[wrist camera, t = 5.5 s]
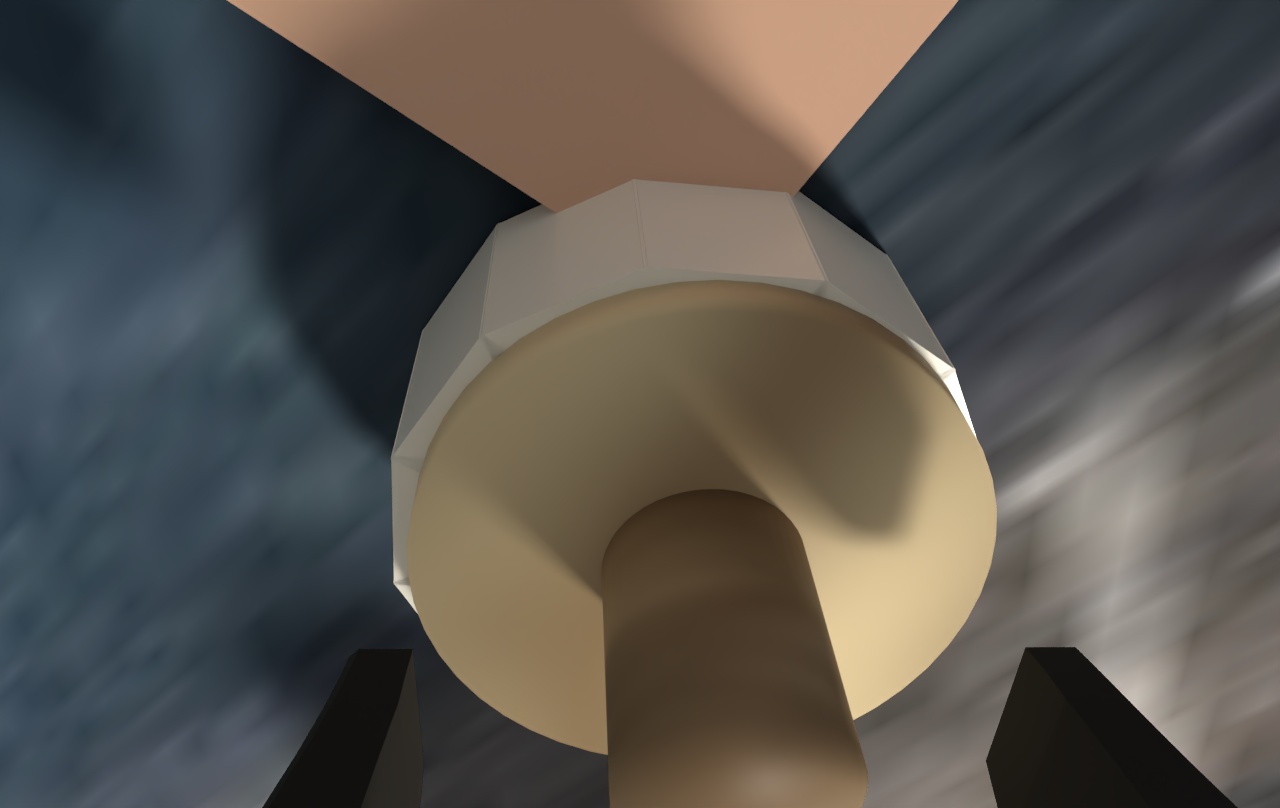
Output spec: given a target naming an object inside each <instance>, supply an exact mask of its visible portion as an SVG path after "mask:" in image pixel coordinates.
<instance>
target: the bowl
mask: <svg viewBox="0 0 1280 808" xmlns="http://www.w3.org/2000/svg"><path fill="white" fill-rule="evenodd" d="M706 280H729V281H745V282H760V283H766V284H771V285H776V286H781V287H787V288H792V289H797V290H802V291H805V292H808V293H811V294H814V295H817V296H820V297H823V298H826V299H830V300H833V301H836V302H839V303H841V304H843V305H845V306H847V307H849V308H851V309H853V310H855V311H857V312H859V313H862V314H864V315H866V316H868V317H870V318H872V319H874V320H875V321H877V322H878V323H880V324H881V325H883V326H884V327H886V328H887V329H889V330H890V331H891V332H893V333H894V334H896V335H897V336H899V337H900V338H902V339H903V340H904V341H905V342H906V343H908V344H909V345H910V346H911V347H912V348H913V349H914V350H915V351H916V352H917V353H918V354H920V355H921V356H922V357H923V358H924V359H925V360H926V361H927V362H928V363H929V364H930V365H931V367H932V368H933V369H934V370H935V372H936V373H937V374H938V376H939V377H940V378H941V379H942V381H943V382H944V383H945V384H946V386H947V387H948V388H949V390H950V392H951V394H952V395H953V397H954V399H955V401H956V403H957V404H958V406H959V408H960V410H961V411H962V413H963V415H964V417H965V418H966V420H967V422H968V424H969V426H970V428H971V429H972V431H973V433H974V435H975V432H974V429H973V426H972V423H971V420H970V417H969V413H968V410H967V407H966V404H965V401H964V398H963V395H962V391H961V388H960V385H959V382H958V379H957V376H956V373H955V368H954V366H953V365H952V363H951V361H950V360H949V358H948V356H947V355H946V353H945V351H944V349H943V348H942V346H941V344H940V343H939V341H938V339H937V338H936V336H935V334H934V333H933V331H932V329H931V327H930V326H929V324H928V322H927V321H926V319H925V317H924V316H923V314H922V312H921V311H920V309H919V307H918V306H917V304H916V302H915V300H914V299H913V297H912V295H911V294H910V292H909V290H908V289H907V287H906V285H905V284H904V282H903V280H902V278H901V277H900V275H899V273H898V272H897V270H896V268H895V267H894V265H893V263H892V262H891V260H890V258H889V256H888V255H887V254H885V253H883V252H882V251H880V250H879V249H878V248H876V247H875V246H874V245H872V244H871V243H869V242H868V241H867V240H865V239H864V238H863V237H861V236H860V235H858V234H857V233H856V232H854V231H853V230H852V229H850V228H849V227H847V226H846V225H845V224H843V223H842V222H841V221H839V220H838V219H836V218H835V217H834V216H832V215H831V214H830V213H828V212H827V211H825V210H824V209H823V208H821V207H820V206H819V205H817V204H816V203H814V202H813V201H812V200H810V199H809V198H808V197H806V196H805V195H803V194H802V193H801V192H799V191H798V192H797V193H796V194H795V196H794V197H793V196H791V195H790V194H789V193H788V192H786V191H785V192H777V191H765V190H753V189H742V188H730V187H719V186H707V185H696V184H684V183H672V182H661V181H649V180H638V179H632V180H631V181H629V182H626V183H624V184H622V185H620V186H617V187H615V188H613V189H611V190H608V191H606V192H604V193H601V194H599V195H597V196H595V197H592V198H590V199H588V200H586V201H583V202H581V203H579V204H576V205H574V206H572V207H570V208H567V209H565V210H563V211H561V212H558V213H555V212H554V211H552V210H551V209H549V208H547V207H546V206H544V205H543V204H542V205H539V206H537V207H535V208H533V209H530V210H528V211H526V212H524V213H521V214H519V215H517V216H515V217H512V218H510V219H508V220H506V221H503V222H501V223H498V224H496V227H495V228H494V230H493V231H492V232H491V234H490V235H489V237H488V238H487V240H486V241H485V242H484V244H483V245H482V247H481V248H480V250H479V251H478V252H477V254H476V255H475V257H474V258H473V260H472V261H471V262H470V264H469V265H468V267H467V268H466V270H465V271H464V272H463V274H462V275H461V277H460V278H459V279H458V281H457V282H456V284H455V285H454V287H453V288H452V289H451V291H450V292H449V294H448V295H447V297H446V298H445V299H444V301H443V302H442V304H441V305H440V307H439V308H438V309H437V311H436V312H435V314H434V315H433V317H432V318H431V319H430V321H429V322H428V324H427V325H426V327H425V328H424V329H423V330H422V333H421V337H420V341H419V345H418V350H417V354H416V358H415V362H414V366H413V370H412V374H411V378H410V382H409V386H408V390H407V394H406V398H405V402H404V406H403V410H402V414H401V418H400V422H399V426H398V430H397V434H396V438H395V442H394V447H393V451H392V455H391V465H392V512H393V560H394V580H393V583H394V585H396V587H397V588H398V589H399V590H400V592H401V593H402V594H403V596H404V597H405V598H406V599H407V601H408V602H409V603H410V604H411V606H412V607H413V608H414V610H415V611H416V612H417V610H416V607H415V605H414V602H413V597H412V592H411V587H410V582H409V577H408V562H407V541H408V534H409V527H410V520H411V513H412V508H413V504H414V499H415V494H416V489H417V484H418V479H419V475H420V472H421V469H422V466H423V463H424V460H425V456H426V453H427V450H428V447H429V445H430V443H431V441H432V439H433V437H434V435H435V433H436V431H437V429H438V427H439V425H440V424H441V422H442V420H443V418H444V416H445V415H446V413H447V412H448V411H449V409H450V408H451V406H452V405H453V404H454V402H455V401H456V400H457V398H458V397H459V395H460V394H461V393H462V391H463V390H464V389H465V388H466V386H467V385H468V384H469V383H470V382H471V381H472V380H473V379H474V378H475V377H476V376H477V375H478V374H479V373H480V372H481V371H482V370H483V369H484V368H485V367H486V366H487V365H488V364H489V363H490V362H491V361H492V360H494V359H495V358H496V357H497V356H499V355H500V354H501V353H503V352H504V351H505V350H506V349H508V348H509V347H510V346H512V345H513V344H514V343H515V342H517V341H518V340H519V339H521V338H522V337H524V336H526V335H527V334H529V333H531V332H532V331H534V330H536V329H537V328H539V327H541V326H542V325H544V324H546V323H548V322H549V321H551V320H553V319H554V318H556V317H559V316H561V315H563V314H566V313H568V312H570V311H573V310H575V309H577V308H579V307H582V306H584V305H586V304H589V303H591V302H593V301H597V300H600V299H603V298H607V297H610V296H613V295H617V294H620V293H623V292H627V291H630V290H634V289H639V288H645V287H651V286H656V285H662V284H668V283H674V282H688V281H706ZM975 437H976V435H975ZM417 613H418V612H417Z"/></svg>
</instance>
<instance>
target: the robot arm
mask: <svg viewBox="0 0 1280 808" xmlns="http://www.w3.org/2000/svg"><path fill="white" fill-rule="evenodd" d="M986 763H987V767H988V771H989V775H990V779H991V783H992V787H993V791H994V795H995V799H996V803H997V807H998V808H1237V807H1236V806H1235V805H1234V804H1233V803H1232V802H1231V801H1230V800H1229V799H1228V798H1227V797H1226V796H1225V795H1224V794H1223V793H1222V792H1220V791H1219V790H1218V789H1217V788H1216V787H1215V786H1214V785H1213V784H1212V783H1211V782H1210V781H1209V780H1208V779H1207V778H1206V777H1205V776H1204V775H1203V774H1202V773H1201V772H1200V771H1199V770H1198V769H1197V768H1196V767H1195V766H1194V765H1192V764H1191V763H1190V762H1189V761H1188V760H1187V759H1186V758H1185V757H1184V756H1183V755H1182V754H1181V753H1180V752H1179V751H1178V750H1177V749H1176V748H1175V747H1174V746H1173V745H1172V744H1171V743H1170V742H1169V741H1168V740H1167V739H1166V738H1165V737H1164V736H1163V735H1162V734H1161V733H1160V732H1159V731H1158V730H1157V729H1156V728H1155V727H1154V726H1153V725H1152V724H1151V723H1150V722H1149V721H1148V720H1147V719H1146V718H1145V717H1144V716H1143V715H1142V714H1141V713H1140V712H1139V711H1138V710H1137V709H1136V708H1135V707H1134V706H1133V705H1132V704H1131V703H1130V701H1129V700H1128V699H1127V698H1126V697H1125V696H1124V695H1123V694H1122V693H1121V692H1120V691H1119V690H1118V689H1117V688H1116V687H1115V686H1114V685H1113V684H1112V683H1111V682H1110V681H1109V680H1108V679H1107V678H1106V677H1105V676H1104V675H1103V674H1102V673H1101V672H1100V671H1099V670H1098V669H1097V668H1096V667H1095V666H1094V665H1093V664H1092V663H1091V662H1090V661H1089V660H1088V659H1087V658H1086V657H1085V656H1084V655H1083V654H1082V653H1081V652H1080V651H1079V650H1078V649H1076V648H1075V647H1026V648H1025V651H1024V653H1023V656H1022V659H1021V662H1020V665H1019V668H1018V671H1017V673H1016V676H1015V679H1014V682H1013V685H1012V688H1011V691H1010V693H1009V696H1008V699H1007V702H1006V705H1005V708H1004V711H1003V714H1002V716H1001V719H1000V722H999V725H998V728H997V731H996V734H995V736H994V739H993V742H992V745H991V748H990V751H989V754H988V756H987V759H986ZM423 772H424V761H423V750H422V740H421V729H420V718H419V708H418V697H417V686H416V676H415V665H414V654H413V649H359V650H357V651H356V652H355V653H354V654H352V655H351V656H350V657H349V659H348V661H347V663H346V666H345V668H344V670H343V672H342V674H341V676H340V678H339V680H338V682H337V684H336V685H335V687H334V689H333V691H332V693H331V695H330V697H329V699H328V701H327V702H326V704H325V706H324V708H323V710H322V711H321V713H320V715H319V717H318V719H317V720H316V722H315V724H314V725H313V727H312V729H311V731H310V732H309V734H308V736H307V737H306V739H305V741H304V742H303V744H302V746H301V747H300V749H299V751H298V753H297V754H296V756H295V757H294V759H293V760H292V762H291V764H290V765H289V767H288V768H287V770H286V771H285V773H284V775H283V776H282V778H281V779H280V781H279V782H278V784H277V785H276V787H275V789H274V790H273V792H272V793H271V795H270V796H269V798H268V800H267V801H266V803H265V804H264V806H263V807H262V808H420V802H421V792H422V782H423Z"/></svg>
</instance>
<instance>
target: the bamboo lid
mask: <svg viewBox="0 0 1280 808" xmlns="http://www.w3.org/2000/svg"><path fill="white" fill-rule="evenodd" d="M996 519H997V506H996V500H995V493H994V486H993V479H992V476H991V473H990V470H989V467H988V464H987V461H986V458H985V455H984V452H983V449H982V448H981V446H980V444H979V442H978V440H977V438H976V437H975V435H974V433H973V431H972V429H971V428H970V426H969V424H968V422H967V420H966V418H965V417H964V415H963V413H962V411H961V410H960V408H959V406H958V404H957V403H956V401H955V399H954V397H953V395H952V394H951V392H950V390H949V388H948V387H947V386H946V384H945V383H944V382H943V381H942V379H941V378H940V377H939V376H938V374H937V373H936V372H935V370H934V369H933V368H932V367H931V365H930V364H929V363H928V362H927V361H926V360H925V359H924V358H923V357H922V356H921V355H920V354H918V353H917V352H916V351H915V350H914V349H913V348H912V347H911V346H910V345H909V344H908V343H906V342H905V341H904V340H903V339H902V338H900V337H899V336H897V335H896V334H894V333H893V332H891V331H890V330H889V329H887V328H886V327H884V326H883V325H881V324H880V323H878V322H877V321H875V320H874V319H872V318H870V317H868V316H866V315H864V314H862V313H859V312H857V311H855V310H853V309H851V308H849V307H847V306H845V305H843V304H841V303H839V302H836V301H833V300H830V299H826V298H823V297H820V296H817V295H814V294H811V293H808V292H805V291H802V290H797V289H792V288H787V287H781V286H776V285H771V284H766V283H760V282H745V281H729V280H706V281H688V282H674V283H668V284H662V285H656V286H651V287H645V288H639V289H634V290H630V291H627V292H623V293H620V294H617V295H613V296H610V297H607V298H603V299H600V300H597V301H593V302H591V303H589V304H586V305H584V306H582V307H579V308H577V309H575V310H573V311H570V312H568V313H566V314H563V315H561V316H559V317H556V318H554V319H553V320H551V321H549V322H548V323H546V324H544V325H542V326H541V327H539V328H537V329H536V330H534V331H532V332H531V333H529V334H527V335H526V336H524V337H522V338H521V339H519V340H518V341H517V342H515V343H514V344H513V345H512V346H510V347H509V348H508V349H506V350H505V351H504V352H503V353H501V354H500V355H499V356H497V357H496V358H495V359H494V360H492V361H491V362H490V363H489V364H488V365H487V366H486V367H485V368H484V369H483V370H482V371H481V372H480V373H479V374H478V375H477V376H476V377H475V378H474V379H473V380H472V381H471V382H470V383H469V384H468V385H467V386H466V388H465V389H464V390H463V391H462V393H461V394H460V395H459V397H458V398H457V400H456V401H455V402H454V404H453V405H452V406H451V408H450V409H449V411H448V412H447V413H446V415H445V416H444V418H443V420H442V422H441V424H440V425H439V427H438V429H437V431H436V433H435V435H434V437H433V439H432V441H431V443H430V445H429V447H428V450H427V453H426V456H425V460H424V463H423V466H422V469H421V472H420V475H419V479H418V484H417V489H416V494H415V499H414V504H413V508H412V513H411V520H410V527H409V534H408V541H407V562H408V577H409V582H410V587H411V592H412V597H413V602H414V605H415V607H416V610H417V612H418V615H419V617H420V620H421V623H422V625H423V628H424V630H425V632H426V634H427V635H428V637H429V639H430V640H431V642H432V644H433V645H434V647H435V649H436V650H437V652H438V654H439V655H440V657H441V658H442V659H443V660H444V661H445V663H446V664H447V665H448V666H449V668H450V669H451V670H452V671H453V673H454V674H455V675H456V676H457V677H458V678H459V679H460V680H461V681H462V682H463V683H464V684H465V685H466V686H467V687H468V688H469V689H470V690H472V691H473V692H474V693H475V694H476V695H477V696H478V697H479V698H480V699H482V700H483V701H485V702H486V703H487V704H489V705H490V706H492V707H493V708H494V709H496V710H497V711H499V712H500V713H501V714H503V715H504V716H506V717H508V718H510V719H512V720H513V721H515V722H517V723H519V724H521V725H522V726H524V727H526V728H528V729H530V730H532V731H534V732H536V733H539V734H541V735H544V736H546V737H548V738H551V739H553V740H556V741H558V742H561V743H564V744H567V745H571V746H574V747H577V748H580V749H584V750H587V751H590V752H595V753H600V754H605V755H608V774H609V801H610V808H861V807H862V805H863V803H864V800H865V797H866V794H867V788H868V771H867V768H866V764H865V760H864V757H863V753H862V750H861V746H860V743H859V739H858V736H857V732H856V728H855V725H854V721H853V720H854V719H856V718H858V717H860V716H862V715H863V714H865V713H867V712H869V711H871V710H872V709H874V708H876V707H877V706H879V705H880V704H882V703H883V702H885V701H886V700H888V699H889V698H891V697H892V696H893V695H895V694H896V693H898V692H899V691H901V690H902V689H903V688H905V687H906V686H907V685H908V684H909V683H910V682H912V681H913V680H914V679H915V678H916V677H917V676H919V675H920V674H921V673H922V672H923V671H924V670H926V669H927V668H928V667H929V666H930V664H931V663H932V662H933V661H934V660H935V659H936V658H937V657H938V656H939V655H940V654H941V653H942V652H943V650H944V649H945V648H946V647H947V646H948V645H949V644H950V642H951V641H952V639H953V638H954V637H955V635H956V634H957V633H958V631H959V630H960V628H961V627H962V626H963V624H964V623H965V622H966V620H967V618H968V616H969V614H970V612H971V611H972V609H973V607H974V605H975V603H976V601H977V599H978V598H979V596H980V594H981V591H982V588H983V585H984V583H985V580H986V577H987V574H988V572H989V569H990V566H991V561H992V556H993V550H994V545H995V540H996Z"/></svg>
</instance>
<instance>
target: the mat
mask: <svg viewBox="0 0 1280 808" xmlns="http://www.w3.org/2000/svg"><path fill="white" fill-rule="evenodd" d="M227 1H229V2H230V3H232V4H233V5H235V6H236V7H238V8H239V9H241V10H243V11H244V12H246V13H247V14H249V15H250V16H252V17H253V18H255V19H257V20H258V21H260V22H261V23H263V24H264V25H266V26H267V27H269V28H270V29H272V30H274V31H275V32H277V33H278V34H280V35H281V36H283V37H284V38H286V39H287V40H289V41H291V42H292V43H294V44H295V45H297V46H298V47H300V48H301V49H303V50H304V51H306V52H308V53H309V54H311V55H312V56H314V57H315V58H317V59H318V60H320V61H322V62H323V63H325V64H326V65H328V66H329V67H331V68H332V69H334V70H335V71H337V72H339V73H340V74H342V75H343V76H345V77H346V78H348V79H349V80H351V81H352V82H354V83H356V84H357V85H359V86H360V87H362V88H363V89H365V90H366V91H368V92H369V93H371V94H373V95H374V96H376V97H377V98H379V99H380V100H382V101H383V102H385V103H387V104H388V105H390V106H391V107H393V108H394V109H396V110H397V111H399V112H400V113H402V114H404V115H405V116H407V117H408V118H410V119H411V120H413V121H414V122H416V123H417V124H419V125H421V126H422V127H424V128H425V129H427V130H428V131H430V132H431V133H433V134H434V135H436V136H438V137H439V138H441V139H442V140H444V141H445V142H447V143H448V144H450V145H452V146H453V147H455V148H456V149H458V150H459V151H461V152H462V153H464V154H465V155H467V156H469V157H470V158H472V159H473V160H475V161H476V162H478V163H479V164H481V165H482V166H484V167H486V168H487V169H489V170H490V171H492V172H493V173H495V174H496V175H498V176H499V177H501V178H503V179H504V180H506V181H507V182H509V183H510V184H512V185H513V186H515V187H516V188H518V189H520V190H521V191H523V192H524V193H526V194H527V195H529V196H530V197H532V198H534V199H535V200H537V201H538V202H540V203H541V204H543V205H544V206H546V207H547V208H549V209H551V210H552V211H554V212H555V213H558V212H561V211H563V210H565V209H567V208H570V207H572V206H574V205H576V204H579V203H581V202H583V201H586V200H588V199H590V198H592V197H595V196H597V195H599V194H601V193H604V192H606V191H608V190H611V189H613V188H615V187H617V186H620V185H622V184H624V183H626V182H629V181H631V180H632V179H638V180H649V181H661V182H672V183H684V184H696V185H707V186H719V187H730V188H742V189H753V190H765V191H777V192H785V191H786V192H788V193H789V194H790V195H791V196H793V197H794V196H795V194H796V193H797V192H798V191H799V190H800V188H801V187H802V186H803V185H804V184H805V182H806V181H807V180H808V179H809V178H810V177H811V175H812V174H813V173H814V172H815V171H816V169H817V168H818V167H819V166H820V165H821V163H822V162H823V161H824V160H825V159H826V157H827V156H828V155H829V154H830V153H831V152H832V150H833V149H834V148H835V147H836V146H837V144H838V143H839V142H840V141H841V140H842V138H843V137H844V136H845V135H846V134H847V133H848V131H849V130H850V129H851V128H852V127H853V125H854V124H855V123H856V122H857V121H858V119H859V118H860V117H861V116H862V115H863V114H864V112H865V111H866V110H867V109H868V108H869V106H870V105H871V104H872V103H873V102H874V100H875V99H876V98H877V97H878V96H879V94H880V93H881V92H882V91H883V90H884V89H885V87H886V86H887V85H888V84H889V83H890V81H891V80H892V79H893V78H894V77H895V75H896V74H897V73H898V72H899V71H900V70H901V68H902V67H903V66H904V65H905V64H906V62H907V61H908V60H909V59H910V58H911V56H912V55H913V54H914V53H915V52H916V51H917V49H918V48H919V47H920V46H921V45H922V43H923V42H924V41H925V40H926V39H927V37H928V36H929V35H930V34H931V33H932V32H933V30H934V29H935V28H936V27H937V26H938V24H939V23H940V22H941V21H942V20H943V18H944V17H945V16H946V15H947V14H948V12H949V11H950V10H951V9H952V8H953V7H954V5H955V4H956V3H957V2H958V1H959V0H227Z"/></svg>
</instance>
